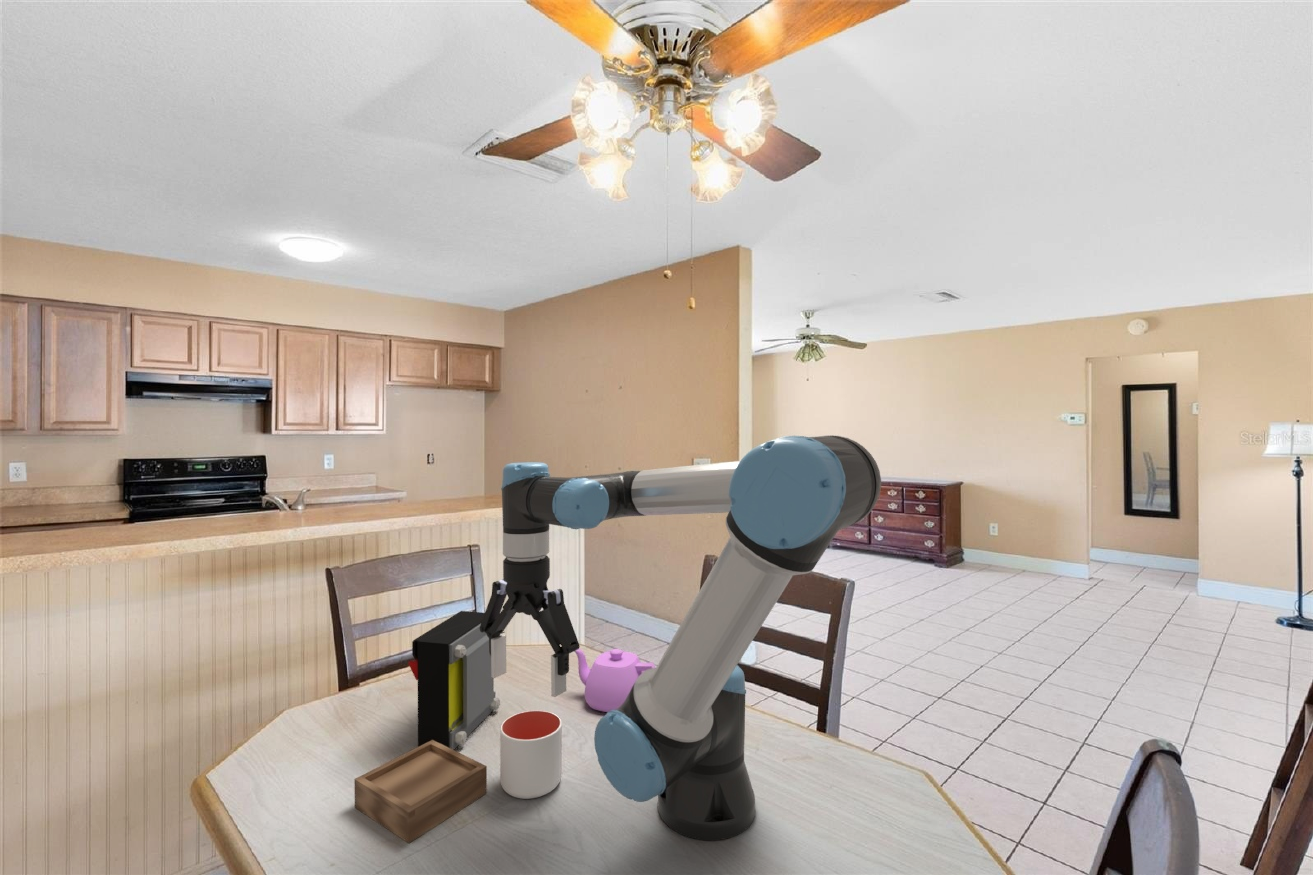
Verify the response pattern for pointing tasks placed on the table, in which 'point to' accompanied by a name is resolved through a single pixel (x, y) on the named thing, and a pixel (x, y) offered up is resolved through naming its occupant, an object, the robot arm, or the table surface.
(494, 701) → the electrical component
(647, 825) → the table surface
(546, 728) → the cup
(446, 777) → the wooden tray
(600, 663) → the teapot
